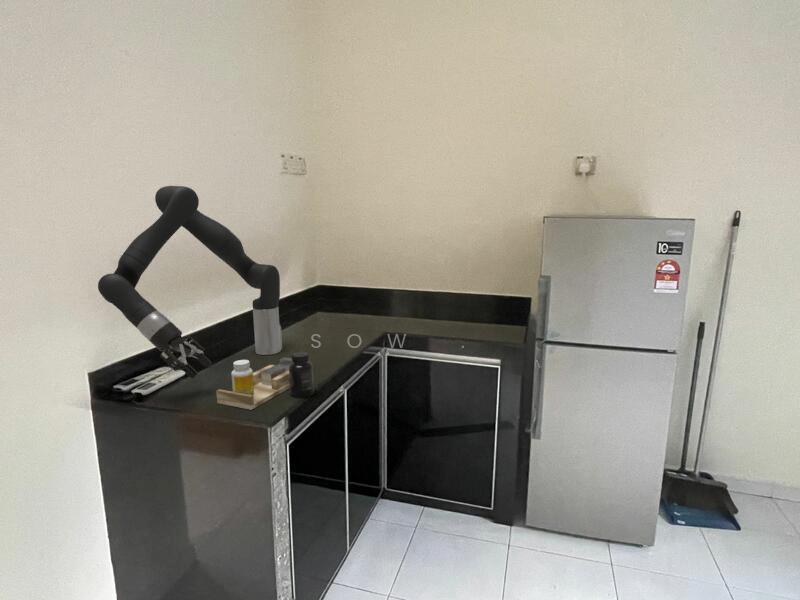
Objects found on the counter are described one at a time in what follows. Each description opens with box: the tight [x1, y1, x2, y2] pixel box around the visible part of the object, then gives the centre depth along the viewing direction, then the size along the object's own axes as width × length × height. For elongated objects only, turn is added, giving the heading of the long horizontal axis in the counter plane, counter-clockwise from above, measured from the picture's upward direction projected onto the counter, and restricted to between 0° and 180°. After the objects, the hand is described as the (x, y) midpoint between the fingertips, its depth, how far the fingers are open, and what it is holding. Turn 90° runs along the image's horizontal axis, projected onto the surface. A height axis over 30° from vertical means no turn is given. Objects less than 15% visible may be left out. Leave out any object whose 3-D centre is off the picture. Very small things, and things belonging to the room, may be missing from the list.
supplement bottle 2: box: [289, 351, 315, 399], centre depth 140 cm, size 7×7×12 cm
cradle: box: [215, 364, 290, 411], centre depth 142 cm, size 23×12×4 cm, turn 157°
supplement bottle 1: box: [231, 359, 254, 396], centre depth 135 cm, size 6×6×10 cm
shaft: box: [261, 357, 293, 386], centre depth 149 cm, size 12×5×5 cm, turn 157°
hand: (202, 370), depth 135 cm, fingers open, 8 cm apart
